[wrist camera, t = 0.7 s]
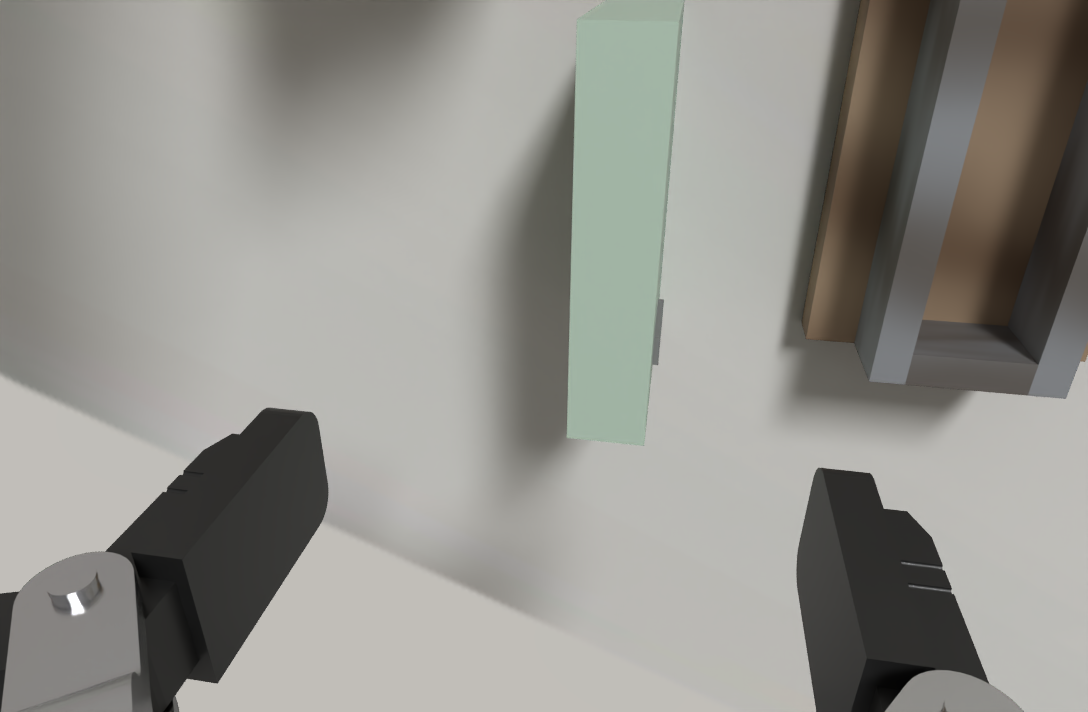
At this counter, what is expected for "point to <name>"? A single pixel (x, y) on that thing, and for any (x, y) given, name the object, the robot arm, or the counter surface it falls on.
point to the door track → (960, 197)
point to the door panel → (619, 212)
